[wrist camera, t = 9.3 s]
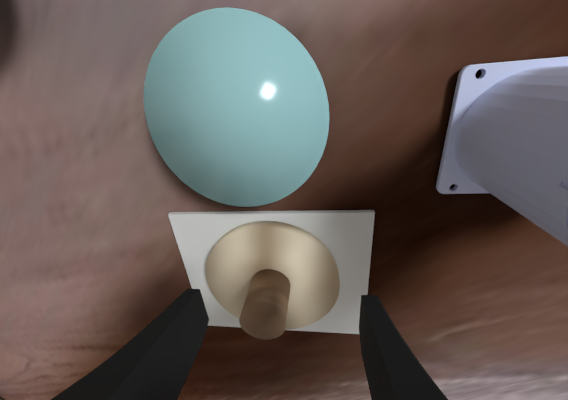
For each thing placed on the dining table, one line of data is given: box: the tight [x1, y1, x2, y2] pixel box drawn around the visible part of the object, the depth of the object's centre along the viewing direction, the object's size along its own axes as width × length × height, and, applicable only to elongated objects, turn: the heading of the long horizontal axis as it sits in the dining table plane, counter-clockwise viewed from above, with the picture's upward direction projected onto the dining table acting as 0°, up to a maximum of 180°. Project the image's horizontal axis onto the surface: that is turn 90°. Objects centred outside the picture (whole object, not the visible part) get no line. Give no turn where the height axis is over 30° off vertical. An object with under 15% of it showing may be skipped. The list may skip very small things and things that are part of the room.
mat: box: [168, 210, 375, 334], centre depth 23 cm, size 17×14×1 cm
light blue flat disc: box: [144, 8, 329, 207], centre depth 16 cm, size 11×11×3 cm
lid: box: [206, 221, 340, 340], centre depth 21 cm, size 12×12×5 cm
